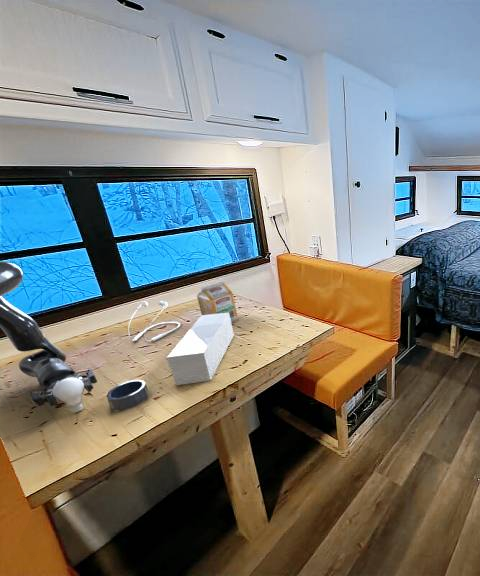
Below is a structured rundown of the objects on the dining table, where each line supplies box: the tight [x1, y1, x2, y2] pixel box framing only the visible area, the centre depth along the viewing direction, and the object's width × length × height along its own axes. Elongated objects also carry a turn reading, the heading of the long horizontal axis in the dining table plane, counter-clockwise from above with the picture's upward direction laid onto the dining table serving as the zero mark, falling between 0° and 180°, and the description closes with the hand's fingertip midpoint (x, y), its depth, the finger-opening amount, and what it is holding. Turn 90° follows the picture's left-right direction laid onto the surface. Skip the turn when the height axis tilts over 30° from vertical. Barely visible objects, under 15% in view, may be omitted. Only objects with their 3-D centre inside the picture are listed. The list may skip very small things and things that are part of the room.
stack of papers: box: [166, 313, 235, 386], centre depth 113 cm, size 32×11×11 cm, turn 12°
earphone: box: [127, 300, 181, 343], centre depth 134 cm, size 14×17×18 cm
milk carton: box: [196, 280, 239, 324], centre depth 140 cm, size 11×11×19 cm
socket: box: [106, 379, 150, 412], centre depth 93 cm, size 9×9×4 cm
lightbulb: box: [52, 378, 85, 413], centre depth 88 cm, size 6×6×11 cm
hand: (73, 395), depth 86 cm, fingers closed on lightbulb, 6 cm apart
